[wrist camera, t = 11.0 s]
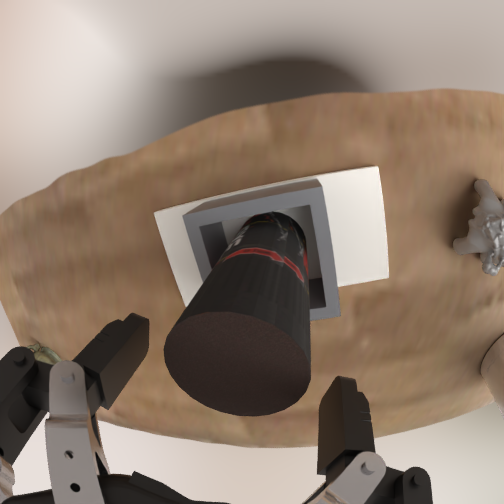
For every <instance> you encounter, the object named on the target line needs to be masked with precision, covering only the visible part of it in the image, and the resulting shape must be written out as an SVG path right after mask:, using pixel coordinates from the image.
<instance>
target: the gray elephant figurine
mask: <svg viewBox="0 0 504 504" xmlns="http://www.w3.org/2000/svg"><path fill="white" fill-rule="evenodd" d="M474 188H475V190H476V192H478V193H479V195H480V198H481V200H480V202H479V205H478V206H477V207H475V208H474V209H473V210H472V211H473V214H474V216H475V218H474V219H470V220H469V221H468V223H469V232H468V235H467V237H465V238H456V239H455V240H454V241H453V248H454V250H455V252H456V253H457V254H459V255H464V254H469V253H476V252H480V259H481V262H482V263H483V265H482V269H483V271H484V272H485V273H487V274H490V275H492V276H495V275H496V274H497V273H498V271H499V269H500V267H501V266H502V267H504V199H503V200H501V201H499V200H498V198H497V197H496V195H495V193H494V192H493V190H492V188H491V187H490V185H489V183H488V182H487V181H486V180H484V179H480V180H477V181H476V182H475V184H474ZM493 263H494V264H497V265H496V266H495V265H494V264H493Z"/></svg>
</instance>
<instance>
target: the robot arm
mask: <svg viewBox="0 0 504 504" xmlns="http://www.w3.org/2000/svg"><path fill="white" fill-rule="evenodd" d="M148 348H149V319H147V318H145V317H142V316H140V315H137V314H135V313H131V314H129V315H128V317H127V318H126V319H125V320H124V321H121V320H119V319H118V320H115V321H113V322H111V323H109V324H107V325H106V326H105V327H104V328H103V329H102V330H101V332H100V333H98V334H97V335H96V336H95V339H93V340H92V341H91V342H90V343H89V344H88V345H87V346H86V347H85V348H84V349H83V350H82V351H81V352H80V353H79V354H78V355H77V356H76V357H75V358H74V359H73V360H72V361H61V362H58V363H56V364H55V365H52V364H48V363H45V362H42V361H39V360H36V359H35V356H34V353H33V352H32V351H31V350H30V349H29V348H26V347H15V348H13V349H11V350H10V351H9V352H8V353H7V354H6V355H5V356H4V357H3V358H2V359H1V360H0V504H229V503H223V502H222V503H221V502H204V501H194V500H190V499H188V498H186V497H184V496H183V495H181V494H179V493H178V492H176V491H175V490H173V489H171V488H170V487H168V486H167V485H165V484H163V483H161V482H159V481H156V480H154V479H151V478H149V477H147V476H144V475H142V474H140V473H138V472H135V471H134V472H133V474H132V476H130V475H124V474H110V471H109V467H108V464H107V461H106V458H105V455H104V451H103V447H102V442H101V438H100V432H99V426H98V421H97V414H96V411H97V410H98V408H99V407H100V406H102V407H104V408H105V409H107V410H109V408H110V407H111V406H112V404H113V403H114V401H115V400H116V398H117V397H118V395H119V394H120V392H121V391H122V390H123V388H124V387H125V385H126V384H127V382H128V381H129V379H130V378H131V377H132V375H133V374H134V372H135V371H136V369H137V368H138V367H139V365H140V364H141V362H142V361H143V360H144V358H145V356H146V354H147V352H148ZM480 371H481V375H482V377H483V378H484V380H485V382H486V384H487V386H488V388H489V389H490V391H491V393H492V395H493V397H494V399H495V401H496V403H497V405H498V407H499V409H500V412H501V413H502V416H503V418H504V335H502V336H501V337H500V338H499V339H498V340H497V341H496V342H495V343H494V344H493V346H492V347H491V348H490V349H489V351H488V352H487V354H486V356H485V357H484V359H483V362H482V365H481V370H480ZM47 412H50V416H49V419H46V421H45V436H46V449H47V458H48V466H49V474H50V480H51V486H52V489H49V490H44V491H39V492H34V493H28V494H24V495H23V494H22V495H16V496H13V493H12V485H14V483H15V479H14V470H13V468H12V465H13V463H14V462H15V460H16V458H17V457H18V455H19V454H20V452H21V451H22V449H23V447H24V446H25V444H26V443H27V441H28V440H29V438H30V437H31V435H32V434H33V432H34V431H35V429H36V428H37V426H38V425H39V424H40V422H41V421H42V419H43V418H44V416H45V415H46V414H47ZM317 474H319V475H326V481H325V482H324V483H323V484H322V485H321V486H320V487H319V488H318V489H317V490H316V491H315V492H314V493H313V494H311V495H310V496H309V497H308V498H307V499H306V500H305V501H304V502H303V503H302V504H433V501H432V490H431V482H430V477H429V475H428V473H427V472H426V471H425V470H424V469H422V468H420V467H411V468H409V469H408V470H406V471H405V472H403V471H399V470H396V469H392V468H390V467H387V466H386V465H385V462H384V460H383V459H382V458H381V457H380V456H379V455H378V454H376V453H375V445H374V437H373V429H372V422H371V415H370V409H369V402H368V400H367V399H366V397H365V395H364V394H363V392H357V385H356V380H355V379H353V378H347V377H342V376H337V377H336V378H335V379H334V381H333V382H332V384H331V386H330V387H329V389H328V390H327V392H326V393H325V395H324V396H323V398H322V400H321V403H320V406H319V433H318V461H317Z"/></svg>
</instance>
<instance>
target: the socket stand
mask: <svg viewBox="0 0 504 504" xmlns="http://www.w3.org/2000/svg"><path fill="white" fill-rule="evenodd" d="M272 211H274V212H280V213H283V214H285V215H288V216H290V217H291V218H292V219H294V220H295V221H296V222H297V223H298V224H299V225H300V227H301V228H302V230H303V232H304V235H305V237H306V246H307V262H308V281H309V305H310V321H312V320H319V319H326V318H332V317H339V316H341V313H340V303H339V294H338V287H340V286H346V285H352V284H358V283H363V282H369V281H374V280H380V279H385V278H389V267H388V248H387V235H386V223H385V213H384V205H383V196H382V189H381V182H380V175H379V169H378V166H368V167H361V168H355V169H348V170H342V171H336V172H330V173H324V174H318V175H312V176H307V177H301V178H296V179H291V180H285V181H280V182H275V183H270V184H266V185H261V186H256V187H251V188H247V189H242V190H238V191H234V192H229V193H225V194H221V195H216V196H212V197H208V198H204V199H200V200H196V201H192V202H188V203H184V204H180V205H177V206H173V207H169V208H165V209H162V210H158V211H156V212H154V215H155V219H156V222H157V225H158V229H159V232H160V235H161V238H162V241H163V244H164V247H165V250H166V253H167V256H168V259H169V262H170V265H171V268H172V271H173V274H174V276H175V279H176V282H177V285H178V288H179V290H180V293H181V296H182V298H183V301H184V304H185V306H186V307H187V306H188V304H189V303H190V301H191V300H192V298H193V297H194V296H195V294H196V293H197V291H198V290H199V288H200V287H201V285H202V284H203V282H204V281H205V279H206V278H207V276H208V275H209V274H210V272H211V271H212V269H213V268H214V266H215V265H216V263H217V262H218V260H219V259H220V258H221V256H222V255H223V253H224V252H225V250H226V249H227V248H228V246H229V245H230V243H231V242H232V240H233V239H234V238H235V236H236V235H237V233H238V232H239V230H240V229H241V228H242V226H243V225H244V224H245V222H246V221H247V220H248V219H250V218H251V217H252V216H254V215H257V214H262V213H267V212H272Z"/></svg>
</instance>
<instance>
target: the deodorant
mask: <svg viewBox="0 0 504 504" xmlns="http://www.w3.org/2000/svg"><path fill="white" fill-rule="evenodd" d="M164 357H165V363H166V366H167V368H168V370H169V373H170V375H171V376H172V378H173V379H174V380H175V382H176V383H177V384H178V386H179V387H180V388H181V389H182V390H184V391H185V392H186V393H187V394H188V395H189V396H190V397H192V398H193V399H195V400H197V401H198V402H200V403H202V404H203V405H205V406H207V407H210V408H212V409H215V410H217V411H220V412H223V413H228V414H232V415H237V416H262V415H270V414H273V413H276V412H279V411H282V410H285V409H287V408H288V407H290V406H292V405H293V404H295V403H296V402H297V401H298V400H299V399H300V398H301V397H302V396H303V395H304V394H305V392H306V390H307V388H308V385H309V383H310V380H311V345H310V305H309V281H308V262H307V246H306V237H305V235H304V232H303V230H302V228H301V227H300V225H299V224H298V223H297V222H296V221H295V220H294V219H292V218H291V217H290V216H288V215H285V214H283V213H280V212H274V211H272V212H267V213H262V214H257V215H254V216H252V217H251V218H250V219H248V220H247V221H246V222H245V224H244V225H243V226H242V228H241V229H240V230H239V232H238V233H237V235H236V236H235V238H234V239H233V240H232V242H231V243H230V245H229V246H228V248H227V249H226V250H225V252H224V253H223V255H222V256H221V258H220V259H219V260H218V262H217V263H216V265H215V266H214V268H213V269H212V271H211V272H210V274H209V275H208V276H207V278H206V279H205V281H204V282H203V284H202V285H201V287H200V288H199V290H198V291H197V293H196V294H195V296H194V297H193V298H192V300H191V301H190V303H189V304H188V306H187V307H186V309H185V310H184V312H183V313H182V315H181V316H180V318H179V319H178V321H177V322H176V324H175V325H174V327H173V328H172V330H171V331H170V333H169V334H168V336H167V338H166V342H165V346H164Z"/></svg>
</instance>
